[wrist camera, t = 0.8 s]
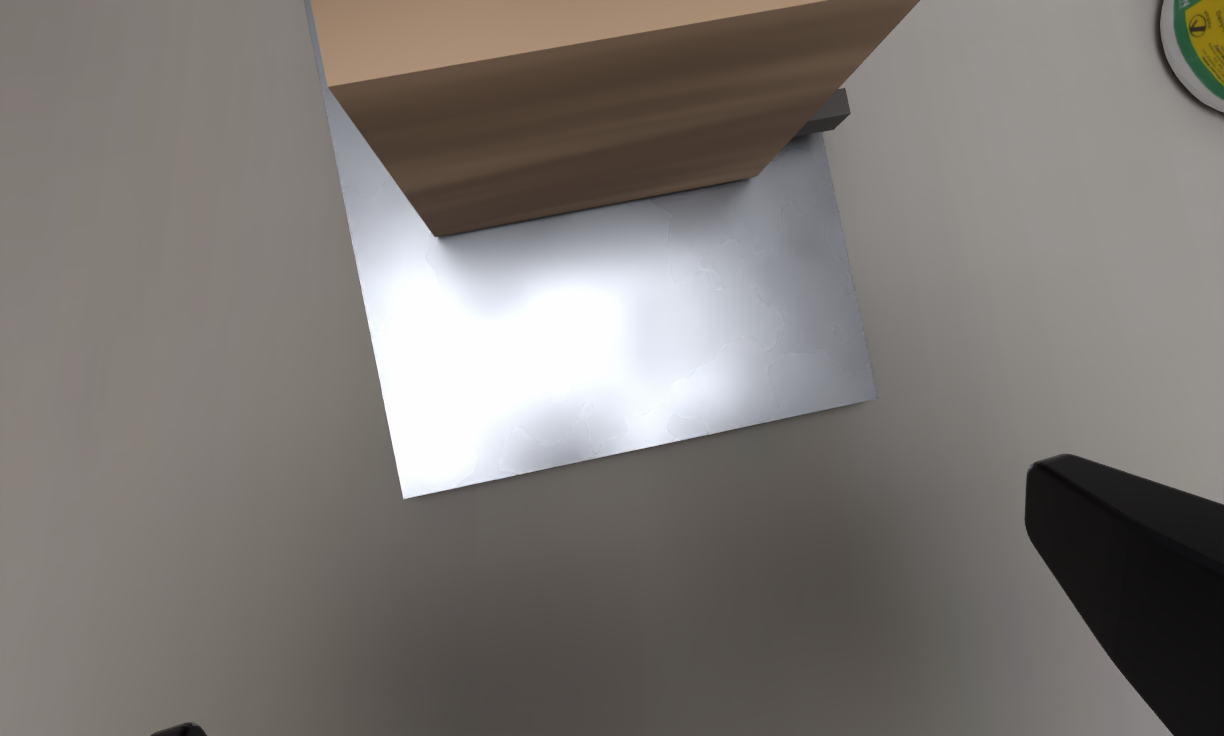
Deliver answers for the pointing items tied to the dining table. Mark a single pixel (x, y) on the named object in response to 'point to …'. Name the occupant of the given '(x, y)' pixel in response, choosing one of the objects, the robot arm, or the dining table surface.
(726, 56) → the brown wooden flat block
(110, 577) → the dining table surface
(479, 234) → the grey piece
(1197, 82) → the supplement bottle
